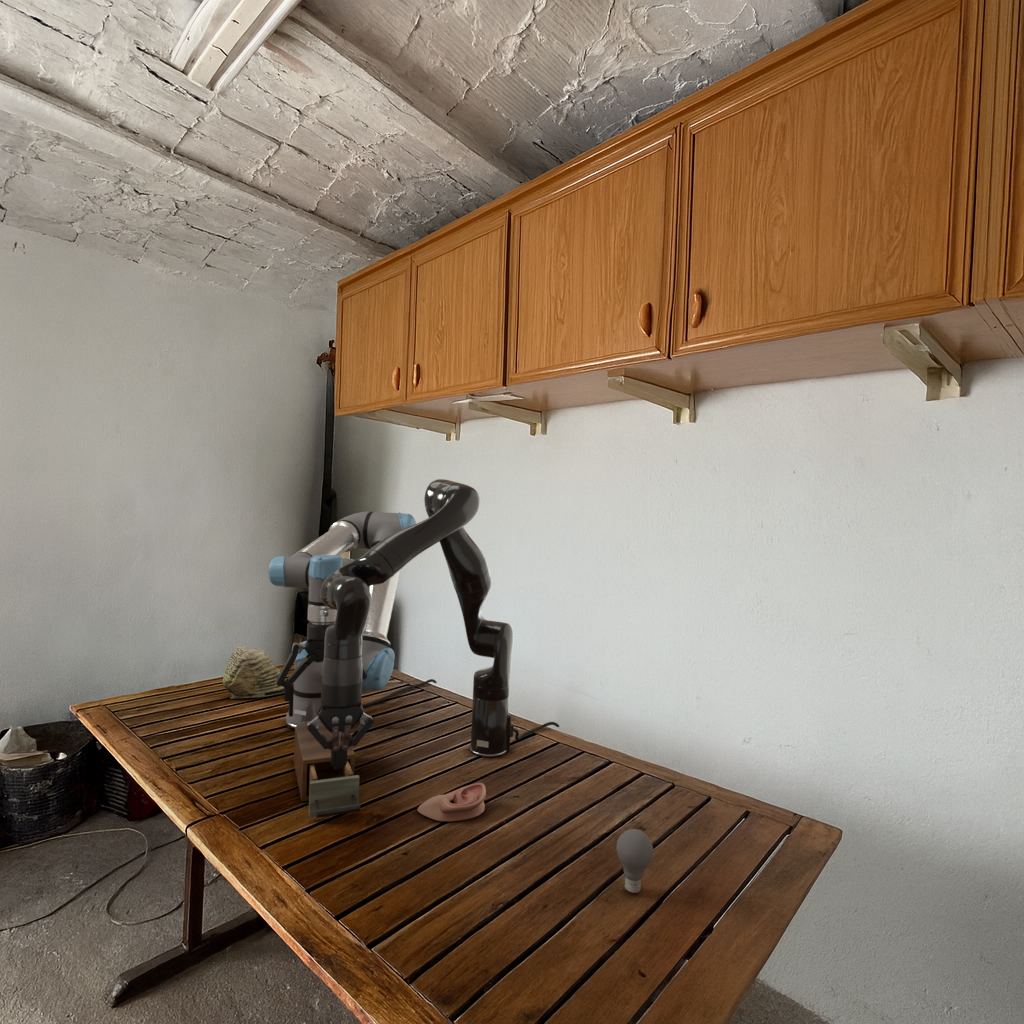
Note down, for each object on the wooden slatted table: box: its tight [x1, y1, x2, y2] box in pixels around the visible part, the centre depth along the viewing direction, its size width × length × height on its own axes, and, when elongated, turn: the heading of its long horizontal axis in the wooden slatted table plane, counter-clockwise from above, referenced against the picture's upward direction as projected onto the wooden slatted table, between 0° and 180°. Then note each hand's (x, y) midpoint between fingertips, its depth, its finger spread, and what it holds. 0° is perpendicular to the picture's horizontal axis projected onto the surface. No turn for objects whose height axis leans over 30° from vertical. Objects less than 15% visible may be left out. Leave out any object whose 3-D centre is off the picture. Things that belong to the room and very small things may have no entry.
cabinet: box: [293, 723, 356, 802], centre depth 143 cm, size 21×11×9 cm, turn 23°
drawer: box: [307, 759, 361, 819], centre depth 131 cm, size 25×9×7 cm, turn 23°
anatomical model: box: [417, 782, 487, 822], centre depth 131 cm, size 13×4×12 cm
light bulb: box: [615, 828, 654, 894], centre depth 106 cm, size 6×6×10 cm
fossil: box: [222, 646, 284, 699], centre depth 198 cm, size 9×18×15 cm, turn 132°
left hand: (321, 711), depth 148 cm, fingers open, 13 cm apart
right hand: (338, 767), depth 122 cm, fingers closed
